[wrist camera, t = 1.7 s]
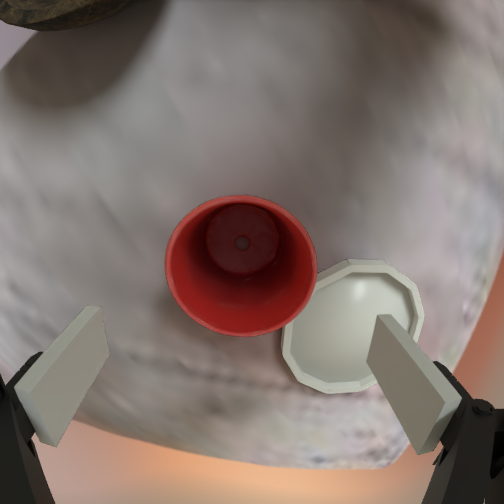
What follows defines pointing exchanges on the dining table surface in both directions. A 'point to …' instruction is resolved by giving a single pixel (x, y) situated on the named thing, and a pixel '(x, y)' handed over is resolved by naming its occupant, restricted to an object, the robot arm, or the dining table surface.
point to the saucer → (347, 324)
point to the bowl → (58, 12)
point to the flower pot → (241, 266)
